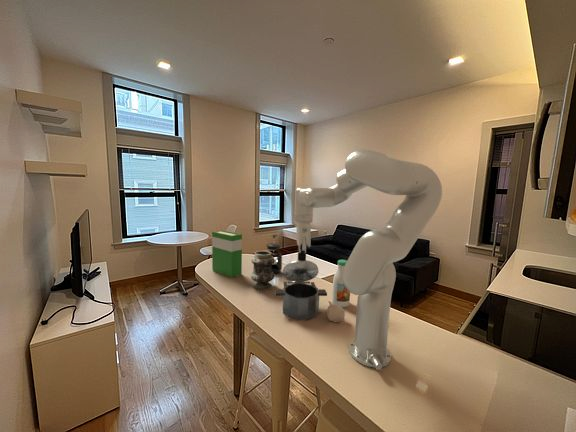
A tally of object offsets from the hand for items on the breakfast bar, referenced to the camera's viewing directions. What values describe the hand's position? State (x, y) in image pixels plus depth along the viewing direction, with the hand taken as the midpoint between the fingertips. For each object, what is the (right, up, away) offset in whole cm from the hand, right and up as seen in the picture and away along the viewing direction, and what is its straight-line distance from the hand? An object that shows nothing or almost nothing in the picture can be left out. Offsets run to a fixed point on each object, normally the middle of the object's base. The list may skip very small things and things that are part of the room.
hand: (301, 261), depth 101 cm
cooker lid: (0, -6, +3) cm, 6 cm away
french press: (-14, -15, +46) cm, 51 cm away
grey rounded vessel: (-19, -18, +25) cm, 36 cm away
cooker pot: (-1, -21, +1) cm, 21 cm away
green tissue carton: (-42, -15, +43) cm, 62 cm away
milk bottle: (+18, -21, +8) cm, 29 cm away
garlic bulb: (+13, -22, -6) cm, 27 cm away
